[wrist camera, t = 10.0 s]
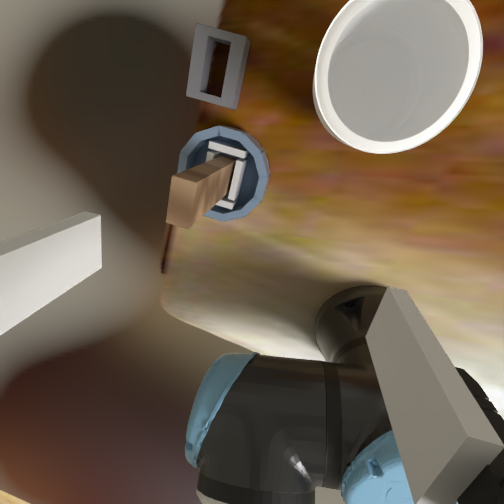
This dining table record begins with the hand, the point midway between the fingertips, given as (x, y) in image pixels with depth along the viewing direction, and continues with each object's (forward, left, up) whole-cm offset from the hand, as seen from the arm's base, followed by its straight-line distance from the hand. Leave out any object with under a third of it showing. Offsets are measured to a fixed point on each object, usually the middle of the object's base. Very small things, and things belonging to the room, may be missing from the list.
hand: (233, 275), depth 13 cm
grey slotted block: (+10, +10, -27) cm, 31 cm away
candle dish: (-1, +7, -27) cm, 28 cm away
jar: (+11, -6, -28) cm, 30 cm away
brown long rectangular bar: (-1, +7, -26) cm, 27 cm away
